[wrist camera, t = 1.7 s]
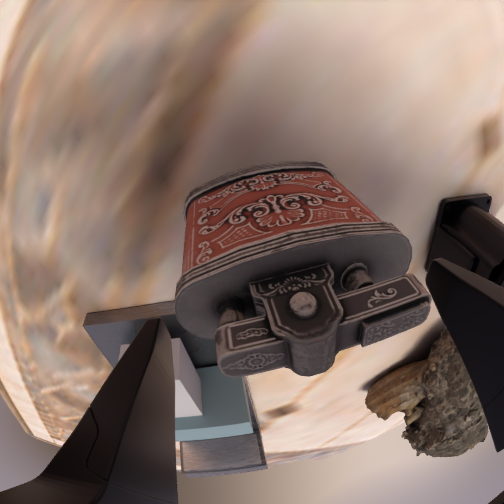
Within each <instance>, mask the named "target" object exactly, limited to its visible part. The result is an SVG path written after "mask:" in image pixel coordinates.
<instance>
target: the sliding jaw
mask: <svg viewBox="0 0 504 504" xmlns="http://www.w3.org/2000/svg"><path fill="white" fill-rule="evenodd" d="M171 342H172V354H173V366H174V377H175V441H191V440H203V439H213V438H222V437H230V436H237V435H244V434H250V433H253V427H252V422H251V416H250V411H249V405H248V399H247V394H246V388H245V382H244V377H236V378H234V377H227V376H225V375H223V373H222V372H221V371H220V369H219V367H218V366H213V367H206V368H199V369H195V368H194V366H193V364H192V362H191V360H190V358H189V355H188V353H187V351H186V349H185V347H184V345H183V343H182V341H181V339H180V338H175V339H171ZM129 345H130V344H124V345H121V348H120V354H119V360H120V358H121V357H122V355H123V354H124V352H125V351H126V349H127V348H128V347H129ZM119 360H118V361H119Z"/></svg>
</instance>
